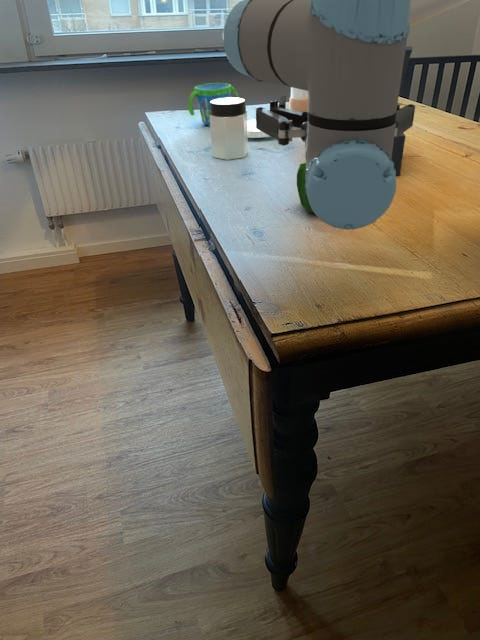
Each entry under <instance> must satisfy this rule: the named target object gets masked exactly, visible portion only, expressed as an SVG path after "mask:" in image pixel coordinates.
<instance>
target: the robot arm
mask: <svg viewBox="0 0 480 640" xmlns="http://www.w3.org/2000/svg"><path fill="white" fill-rule="evenodd" d="M467 2H471V0H240V1H239V2H237V3H236V4H235V5H234V6H233V7H232V8H231V10H230V11H229V13H228V15H227V17H226V18H225V22H224V26H223V31H222V42H223V46H224V47H223V50H224V52H225V55H226V58H227V60H228V62H229V63H230V65H231V66H232V67H233V68H234V69H235V70H236V71H237V72H239V73H240V74H242V75H245V76H246V77H247V76H248V77H250V78H251V79H253V80H254V81H257V82H267V83H271V84H276V85H280V86H284V87H290V88H291V87H293V88H297V89H301V90H306V91H308V111H306V112H298V111H294V110H290V109H289V108H286V106H287V103H286V102H287V96H286V95H280V96H279V100H276V99H275V100H269V109H267V108H266V107H262V106H259V107H257V108H255V119H256V128H257V129H258V130H260V131H262V132H264V133H266V134H267V135H269V136H271V138H273V139H274V140H276V141H277V142H278V145H280V146H288V145H289V144H290V143H291V142H293V139H297V138H300V139H301V141H302V142H303V143H304V149H305V151H304V152H305V154H304V157H305V163H306V174H305V193H306V194H307V197H308V200H309V204H310V206H311V208H312V210H313V212H314V213H313V214H315V216H316V217H317V218H318V219H319V220H320V221H321V222H323V223H324V224H326V225H328V226H330V227H333V228H336V229H340V230H346V231H350V230H357V229H362V228H364V227H367V226H369V225H371V224H373V223H375V222H377V221H378V220H379V219H381V217H383V215H385V213H386V212H387V211H388V209H389V208H390V206H391V205H392V203H393V200H394V198H395V196H396V195H395V194H396V191H397V178H396V177H397V176H396V170H395V169H394V167H393V166H394V163H393V162H392V160H391V157H392V150H393V143H396V138H397V137H398V136H399V135H401V134H402V133H404V134H405V132H406V131H408V130H409V129H411V128H412V127H413V125H414V119H415V113H416V105H415V104H413V103H409V104H406V105H404V106H403V107H401V105H400V104H399V98H400V97H399V96H400V91H401V90H400V89H401V85H400V84H402V82H401V77H402V70H403V63H404V57H405V50H406V47H407V42H408V37H409V34H410V29H411V27H412V26H414V25H417V24H418V23H422V22H423V21H425V20H428V19H431V18H433V17H435V16H437V15H439V14H442V13H444V12H446V11H448V10H451V9H454V8H456V7H458V6H460V5H463V4H465V3H467Z"/></svg>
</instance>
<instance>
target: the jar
mask: <svg viewBox="0 0 480 640" xmlns="http://www.w3.org/2000/svg"><path fill="white" fill-rule="evenodd" d="M210 112H211V115H210V126H209V128H210V141H211V144H210V145H211V155H212V157H213V158H215V159H221V160H225V161H230V160H236V159H244V158H245V157H246V156H247V154H248V153H249V139H248V138H249V137H248V132H247V120H248V111H247V101H246V99H244V98H241V97H238V98H234V97H230V98H220V99H215V100H212V101H211V102H210Z"/></svg>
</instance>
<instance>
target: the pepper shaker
mask: <svg viewBox="0 0 480 640" xmlns="http://www.w3.org/2000/svg"><path fill="white" fill-rule="evenodd" d="M288 109H290V110H294V111H298V112H306V111H308V91H306V90H301V89H297V88H293V87H290V97H289V107H288Z"/></svg>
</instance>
